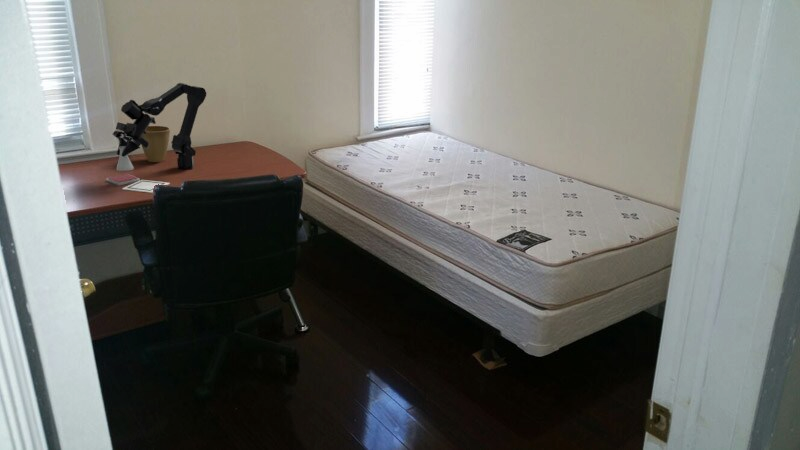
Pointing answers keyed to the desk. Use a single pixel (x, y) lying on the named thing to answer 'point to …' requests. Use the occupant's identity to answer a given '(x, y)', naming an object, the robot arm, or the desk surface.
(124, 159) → the flask
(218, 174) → the desk surface
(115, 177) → the ink pad
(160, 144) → the plant pot
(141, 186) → the marked board
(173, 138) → the robot arm
